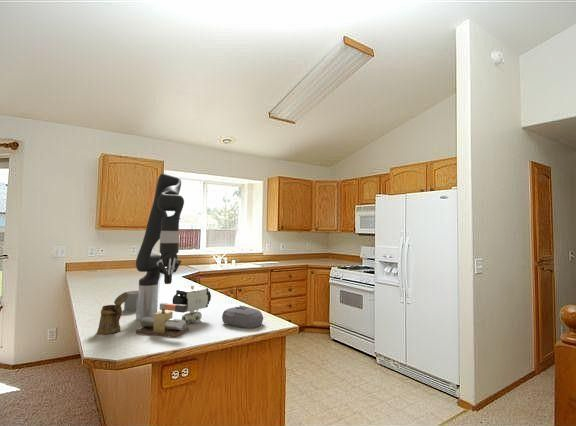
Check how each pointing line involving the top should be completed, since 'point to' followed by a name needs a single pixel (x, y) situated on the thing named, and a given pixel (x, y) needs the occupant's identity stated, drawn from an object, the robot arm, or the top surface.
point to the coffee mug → (131, 301)
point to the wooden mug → (111, 316)
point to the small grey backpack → (242, 317)
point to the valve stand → (162, 325)
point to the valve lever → (173, 307)
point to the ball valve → (192, 302)
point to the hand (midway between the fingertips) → (167, 283)
